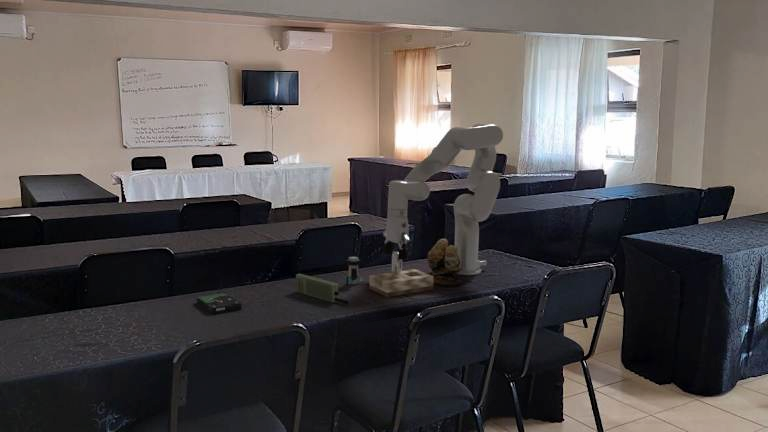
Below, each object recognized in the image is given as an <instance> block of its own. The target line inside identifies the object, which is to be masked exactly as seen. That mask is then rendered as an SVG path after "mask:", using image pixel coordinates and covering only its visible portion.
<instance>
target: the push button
mask: <svg viewBox="0 0 768 432" xmlns="http://www.w3.org/2000/svg"><path fill="white" fill-rule="evenodd" d="M345 261H346V264H347V265H348V275H347V276H346V284H347V285H349V286H350V285H351V284H352V285H357V284H358V285H359V284H361V282H362V280H363V279H364V277H363V278H362V277H361V276H359V266H360V265H361V259H359V257H358V256H349V257H348V259H346V260H345Z"/></svg>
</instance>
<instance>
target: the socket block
mask: <svg viewBox="0 0 768 432" xmlns="http://www.w3.org/2000/svg"><path fill="white" fill-rule="evenodd" d="M433 277H434V276H432V275H429V274H428V273H426V272H423V271H421V270H418V269H417V268H416V269H415V268H413V269H406V270H402V271H398V272H392V271H391V272H384V273H377V274H371V275H369V282H368V284H369V286H368V288H369V290H371V291H373V292H375V293H377V292H378V293H377V294H379V293H380V295H382V296H384V297H386V298H389V296H390V297H395V296H401V295H407V294H413V293H421V292H426V291H432V290H434V284H433Z"/></svg>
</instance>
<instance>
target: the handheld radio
mask: <svg viewBox="0 0 768 432" xmlns="http://www.w3.org/2000/svg"><path fill="white" fill-rule="evenodd" d="M295 284H296V285H295V287H296V293H299V294H303V295H306V296H309V297H312V298H317V299H319V300H323V301H326V302H329V301H330V302H329V303H332V302H335V303H337V301H338V303H340V304H345V305H348V304H349V300H347V299H343V298H339V297H338V296H339V292H338V290H339V287H338V286H339V283H337V282H333V281H329V280H325V279H321V278H318V277H314V276H310V275H307V274H303V273H297V274H295Z"/></svg>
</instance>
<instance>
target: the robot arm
mask: <svg viewBox="0 0 768 432" xmlns="http://www.w3.org/2000/svg"><path fill="white" fill-rule="evenodd" d="M503 138H504V132H503V129H502V128H501V127H500V126H499V125H497V124H494V123H481V122H480V123H476V124H474V125H472V126H471V127H463V126H462V127H461V126H455V127H451V128H450V129H449V130H448V131H447V132H446V133H445V135H444V136H443V137H442V139H441V140H439V141H440V142H439V143H438V144H437V145H436V147H435V148H434V149H433V150H432V152H431V153H430V154H429V155H428V156H426V157H425V158H424V159H423V160H421V161H420V162H419V163H417V164H415V166H414V167H413V168H412V169H411V171H409V173H408V174H407V176H406V177H405V178H404V179H403V180H397V179H396V180H391V181H390V182H389V183H388V193H387V214H386V215H387V216H386V217H387V218H386V224H385V230H384V231H383V232H382V233H383V240H384V255H387V256H388V255H392V252H393V251H394V250H393V247H394V245H393V243H394V244H398V247H399V249H398V252H399V255H398V259H399V260H402V261H403V260H406V259H407V250H408V249H409V248H408V247H409V246H410V245H409V244H410V242H411V239H410V237H409V235H410V233H409V232H410V231H409V230H410V229H409V219H408V208H409V207H408V206H409V205H408V202H409V200H411V201H418V202H421V201H425V200H426V199H427V198H428V197H429V196H430V194H431V189H430V186H429V185H428V183H426V181H427V180H428V179H429V178H430V177H432V176H433V175H436V174H438V173H441V172H442V171H445V170H446V169H448V168H449V166H450V165H451V164H452V163H453V161H454V160H455V159H456V158H457V156H458V155H459V154H460V152H461V151H462V150H463V151H473V150H474V151H475V153H474V158H473V161H472V164H471V166H470V169H469V172H468V174H467V177H466V180H465V186H466V188H467V189H468V191H471V192H473V193H474V194H470V193H464V194H460V195H458V196H457V198H455V201H454V203H453V213H454V214H453V215H454V223H455V224H454V246H455V247H457V255H458V256H459V258H460V265H459V267H462V270H461V271H459V273H457V274H456V275H461V276H476V275H480V274H481V273H482V269H481V266H487V264H488V263H487V262H488V261H487V260H479V243H480V242H479V241H480V240H479V239H480V236H479V235H480V226H479V222H483V221H486V220H487V219H488V218H489V216H490V215H491V213H492V211H493V208H494V205H495V203H496V201H497V197H498V195H499V192H500V190H501V180H500V176H499V175H498V174H497V173H496V172H494V171H493V170H494V167H495V165H496V160H497V151H496V150H497V149H496V146H498V145H499V144H501V142H502V140H503Z"/></svg>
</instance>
